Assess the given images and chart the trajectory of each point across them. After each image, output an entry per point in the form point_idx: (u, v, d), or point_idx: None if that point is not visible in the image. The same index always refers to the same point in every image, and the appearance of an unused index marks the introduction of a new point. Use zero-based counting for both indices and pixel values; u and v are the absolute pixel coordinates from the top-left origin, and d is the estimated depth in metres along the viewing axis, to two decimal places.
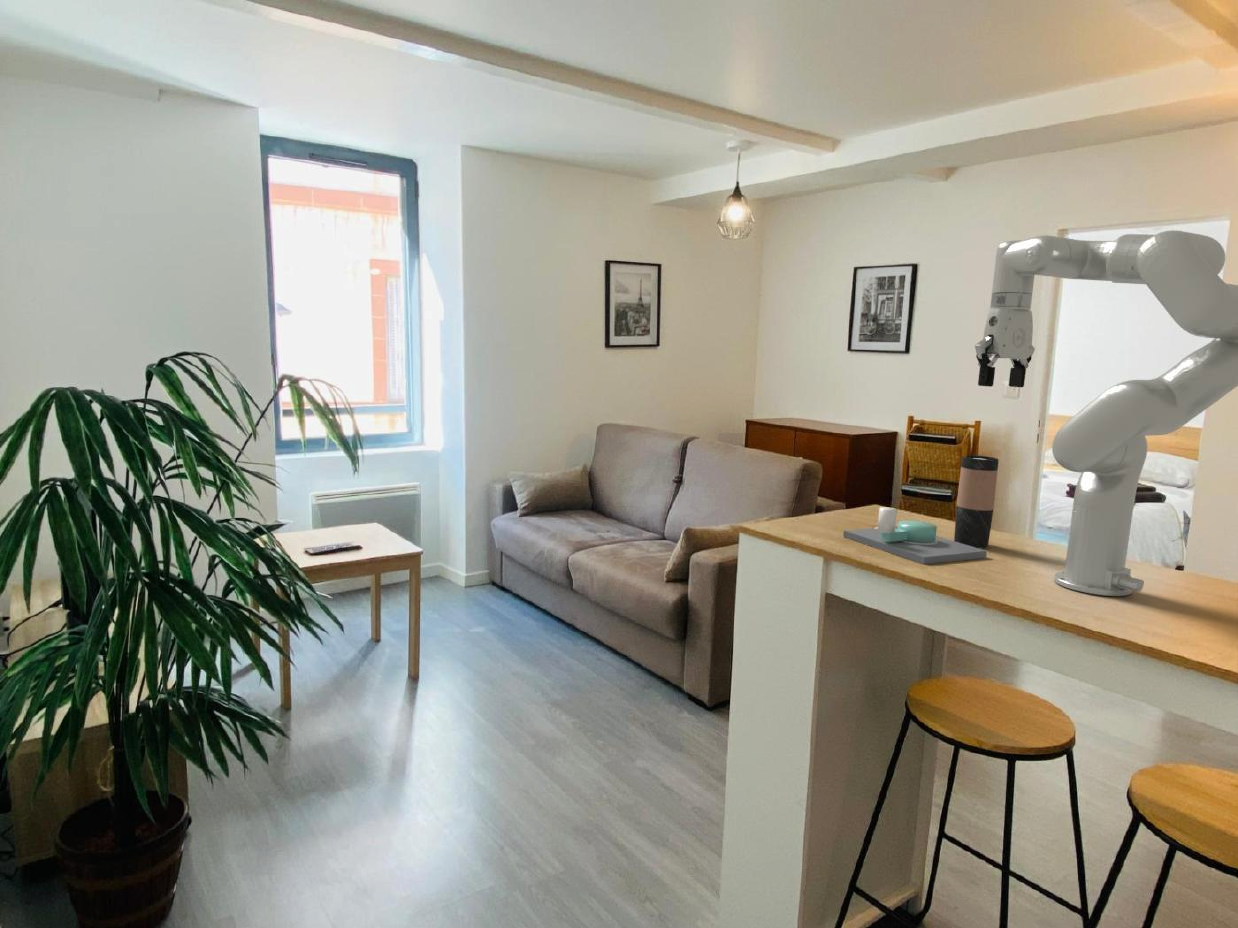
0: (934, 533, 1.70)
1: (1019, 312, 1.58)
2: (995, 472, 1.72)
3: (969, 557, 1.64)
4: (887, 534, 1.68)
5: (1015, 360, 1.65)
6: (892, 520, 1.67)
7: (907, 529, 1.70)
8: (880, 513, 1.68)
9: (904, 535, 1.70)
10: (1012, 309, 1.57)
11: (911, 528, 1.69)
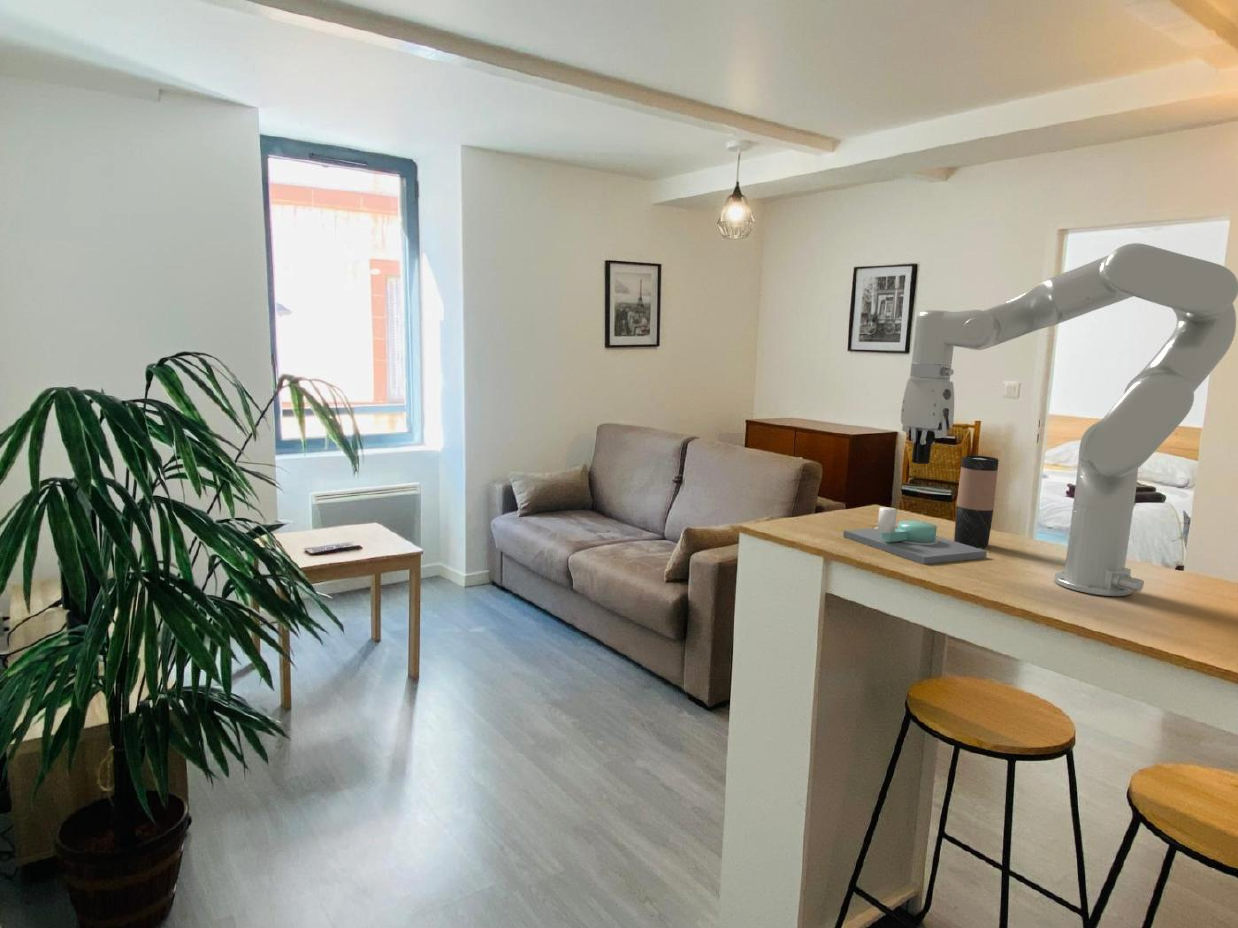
0: (934, 533, 1.70)
1: None
2: (995, 472, 1.72)
3: (969, 557, 1.64)
4: (887, 534, 1.68)
5: None
6: (892, 520, 1.67)
7: (907, 529, 1.70)
8: (880, 513, 1.68)
9: (904, 535, 1.70)
10: None
11: (911, 528, 1.69)
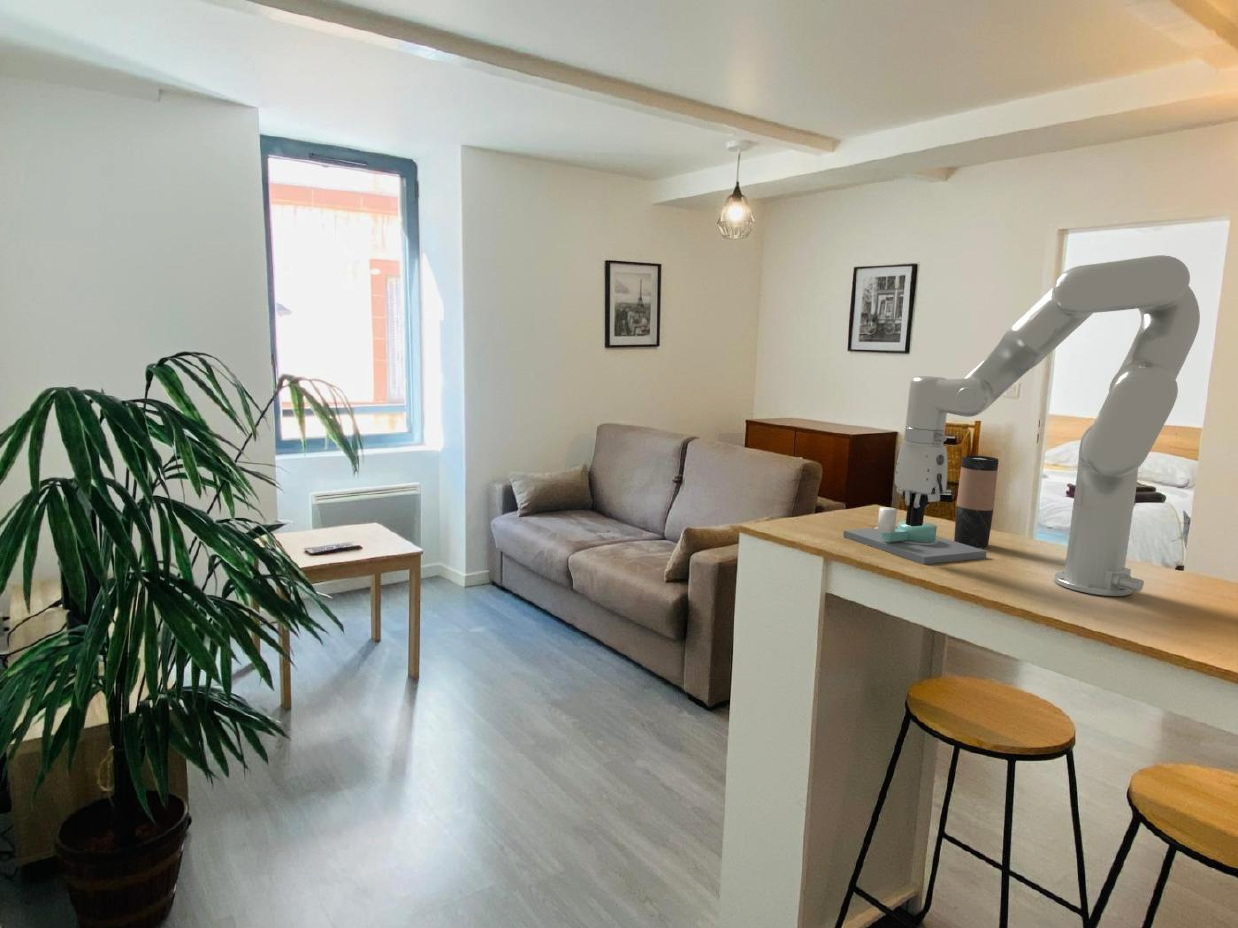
0: (934, 533, 1.70)
1: None
2: (995, 472, 1.72)
3: (969, 557, 1.64)
4: (887, 534, 1.68)
5: None
6: (892, 520, 1.67)
7: (907, 529, 1.70)
8: (880, 513, 1.68)
9: (904, 535, 1.70)
10: None
11: (911, 528, 1.69)
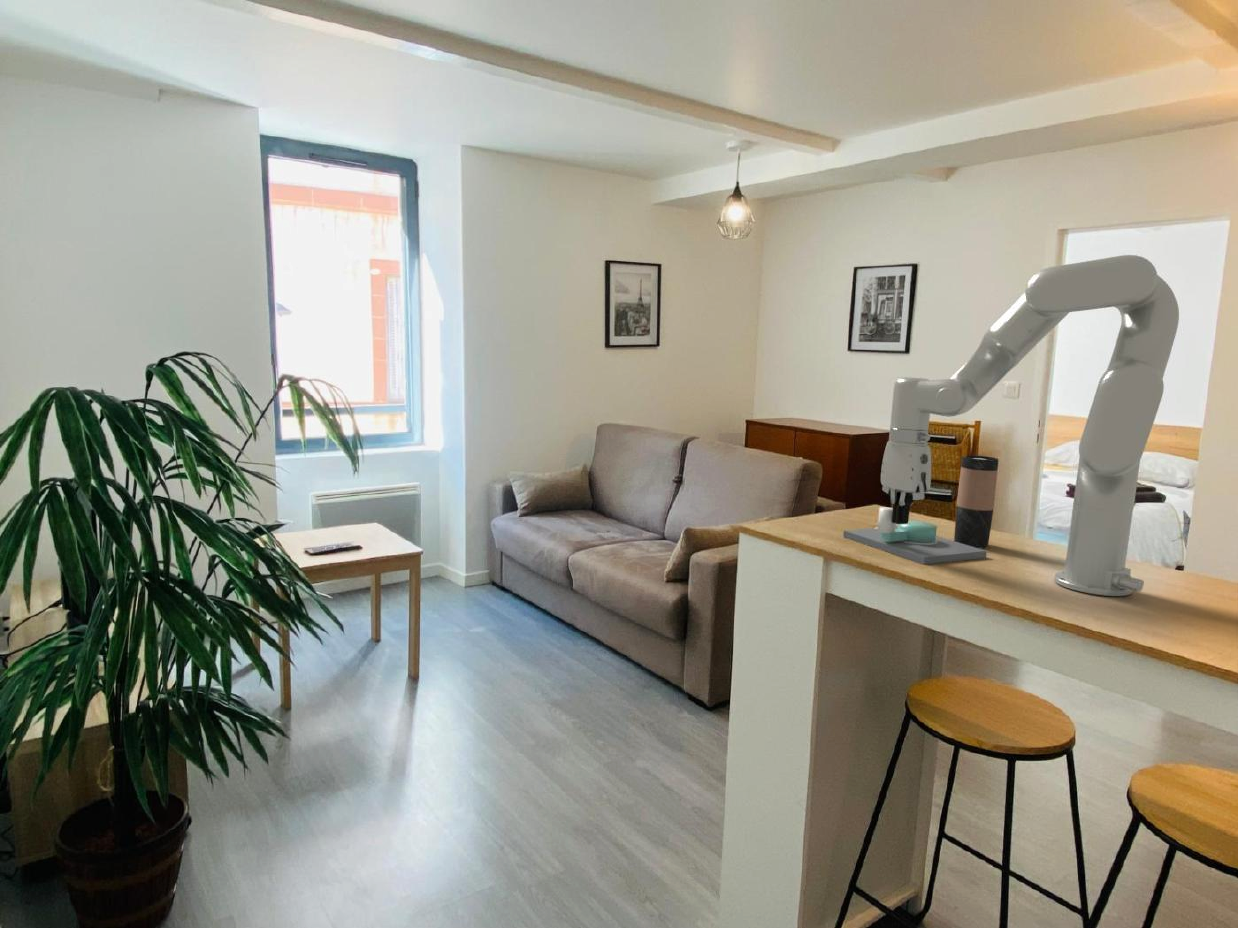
0: (934, 533, 1.70)
1: None
2: (995, 472, 1.72)
3: (969, 557, 1.64)
4: (887, 534, 1.68)
5: None
6: None
7: (907, 529, 1.70)
8: (880, 513, 1.68)
9: (904, 535, 1.70)
10: None
11: (911, 528, 1.69)
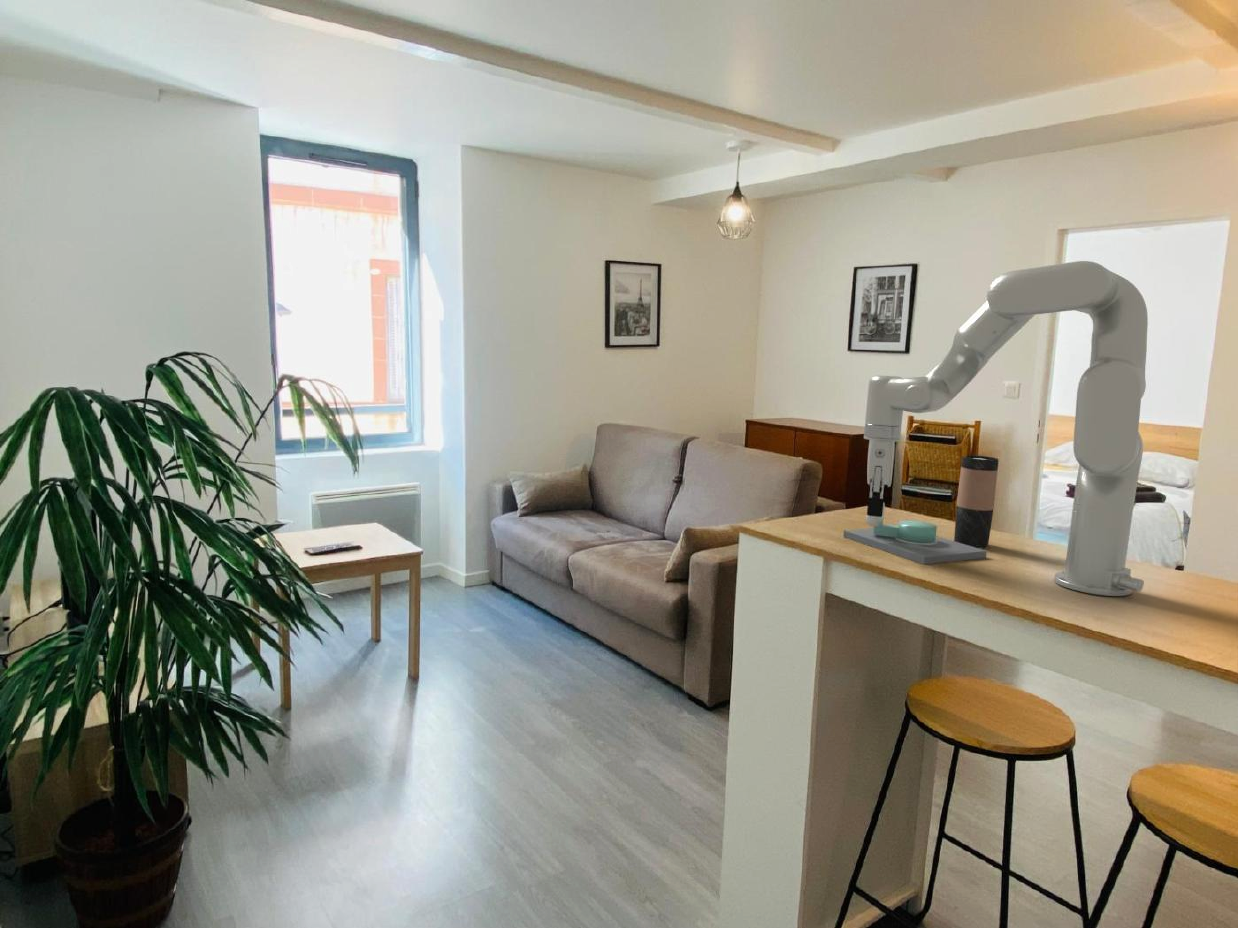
0: (923, 534, 1.69)
1: (894, 442, 1.68)
2: (995, 472, 1.72)
3: (969, 557, 1.64)
4: (874, 526, 1.75)
5: None
6: None
7: (898, 526, 1.73)
8: None
9: (893, 531, 1.73)
10: (893, 441, 1.66)
11: (900, 525, 1.72)
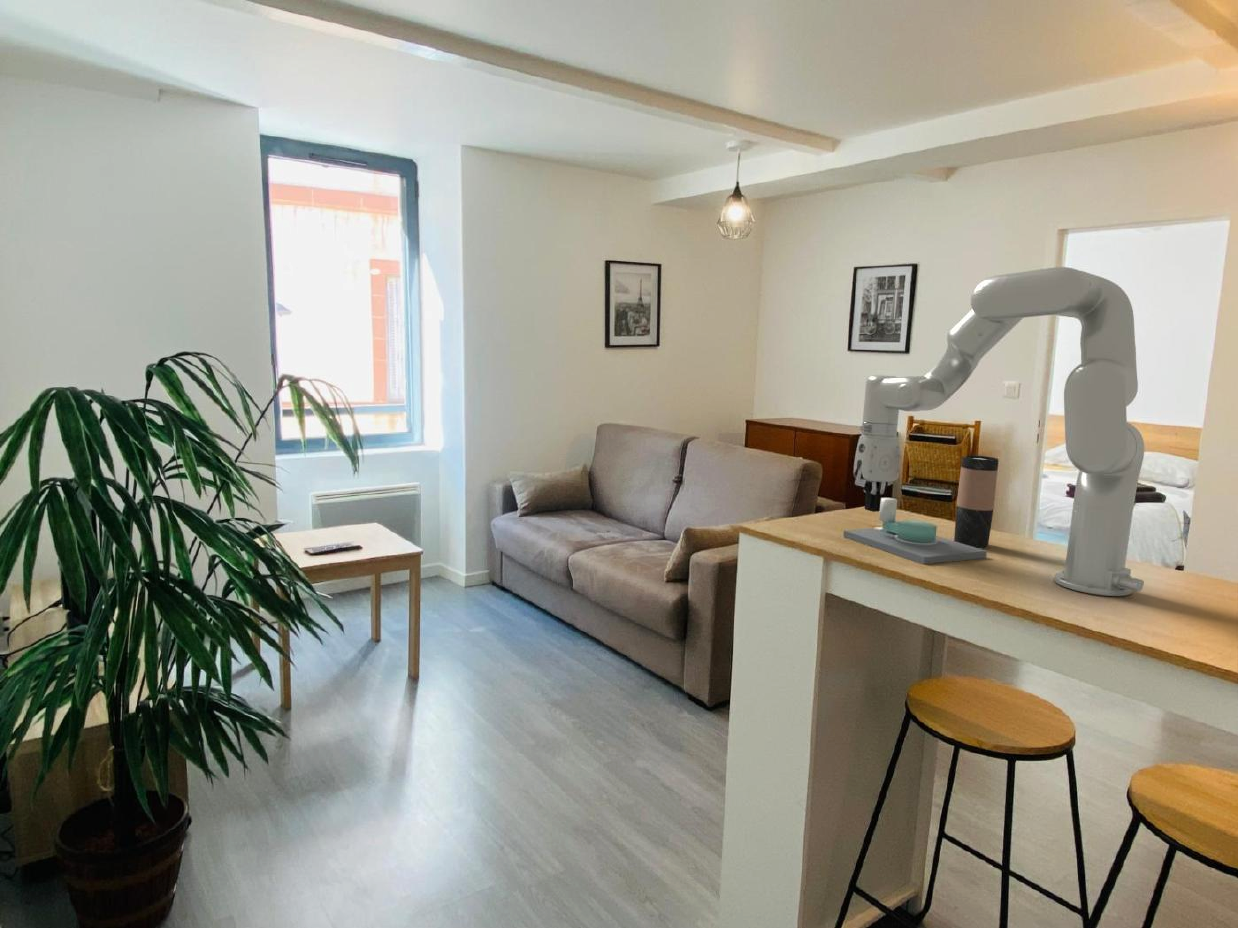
0: (909, 532, 1.70)
1: (885, 440, 1.73)
2: (995, 472, 1.72)
3: (969, 557, 1.64)
4: None
5: (876, 484, 1.78)
6: (881, 509, 1.80)
7: None
8: None
9: (896, 528, 1.76)
10: (878, 438, 1.72)
11: None
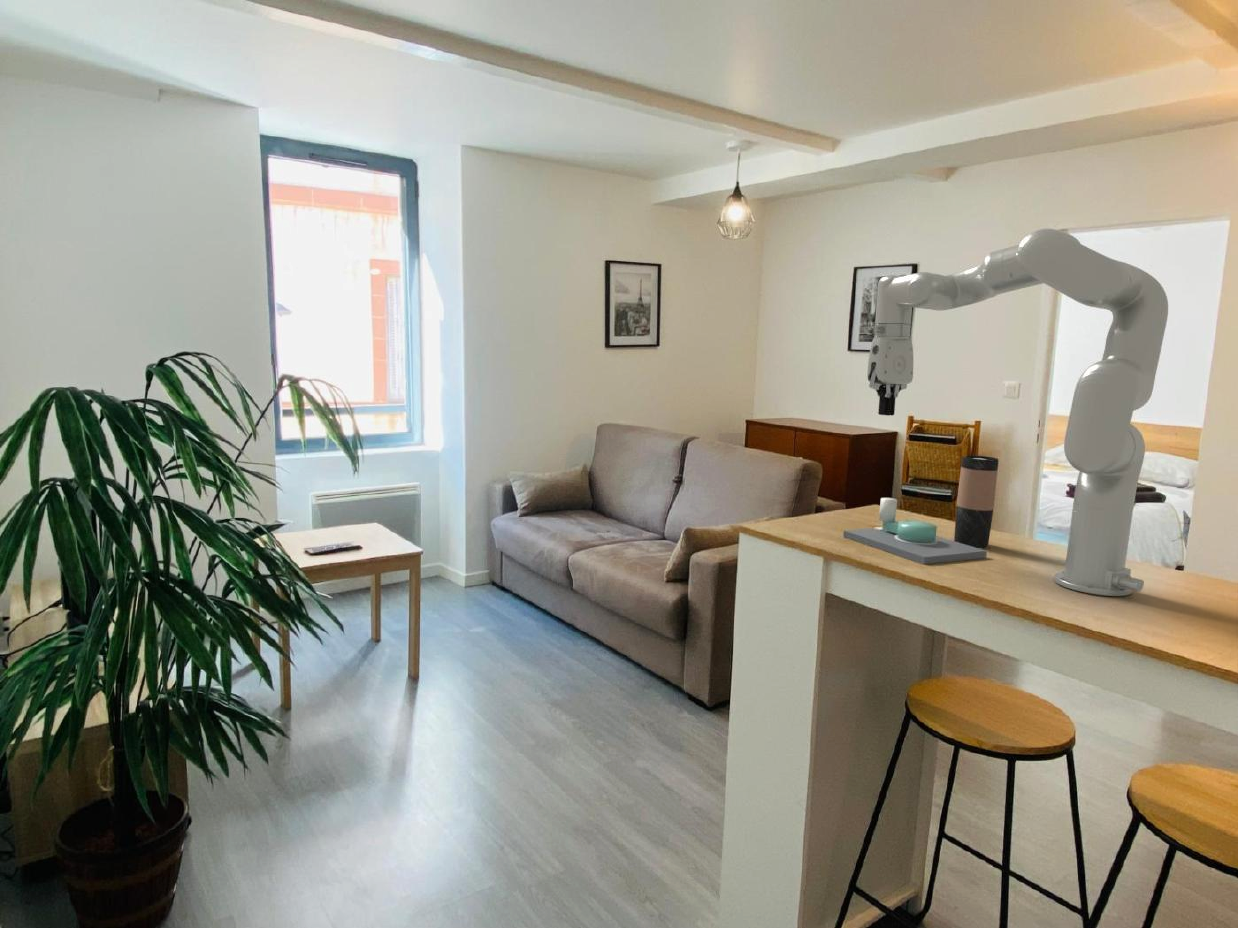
0: (909, 532, 1.70)
1: (898, 341, 1.71)
2: (995, 472, 1.72)
3: (969, 557, 1.64)
4: None
5: (889, 389, 1.77)
6: (881, 509, 1.80)
7: None
8: None
9: (896, 528, 1.76)
10: (892, 338, 1.71)
11: None
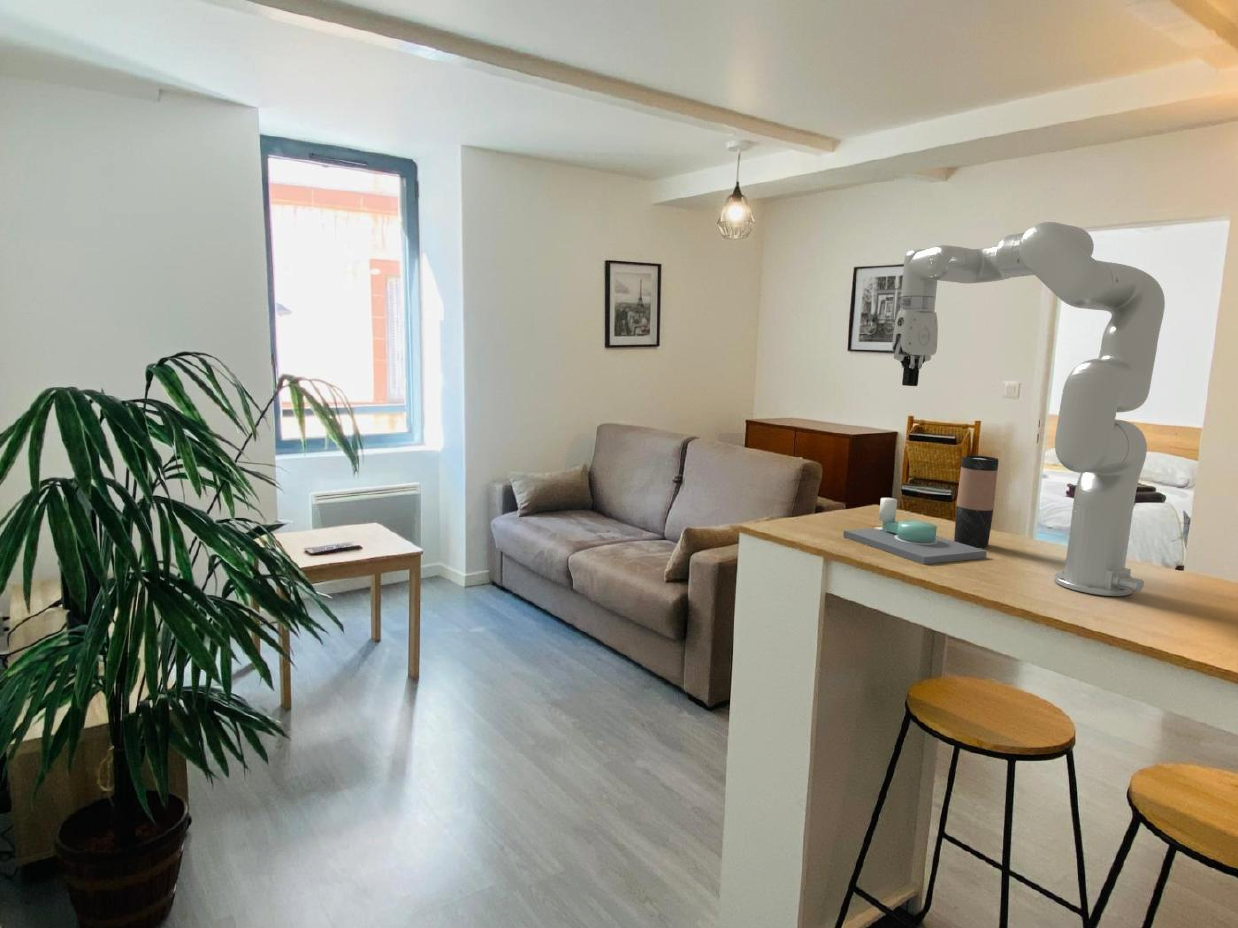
0: (909, 532, 1.70)
1: (923, 313, 1.76)
2: (995, 472, 1.72)
3: (969, 557, 1.64)
4: None
5: (913, 360, 1.82)
6: (881, 509, 1.80)
7: None
8: None
9: (896, 528, 1.76)
10: (917, 311, 1.75)
11: None
